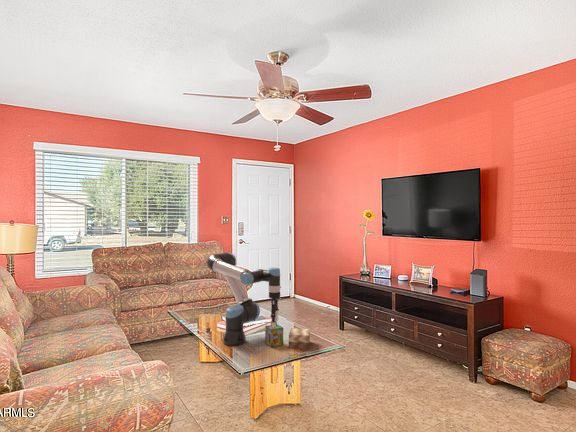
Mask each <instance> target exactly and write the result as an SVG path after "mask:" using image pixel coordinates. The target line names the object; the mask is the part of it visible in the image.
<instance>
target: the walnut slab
mask: <svg viewBox="0 0 576 432" xmlns="http://www.w3.org/2000/svg"><path fill="white" fill-rule="evenodd" d="M291 348H292V349H295V350H296V349H299V350H301V349H302V350H309V349H310V342H309V343H304V342H289V341H288V349H291Z"/></svg>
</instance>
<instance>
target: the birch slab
mask: <svg viewBox="0 0 576 432" xmlns="http://www.w3.org/2000/svg"><path fill="white" fill-rule="evenodd" d="M310 338H311V329H310V328H295V327H294V328H292V327H290V330H289V333H288V343H289V342H304V343H309V344H310Z"/></svg>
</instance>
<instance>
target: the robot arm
mask: <svg viewBox="0 0 576 432" xmlns="http://www.w3.org/2000/svg"><path fill="white" fill-rule="evenodd" d="M206 266H207V268H208V270H210V271H212V272H215V273H221V275H224V277H225V279H226V281H227V283H228V285H229V287H230V290H231V292H232V293H233V294H232V295H233V296H234V298H235V300H236V303H237V304H235V305H233V304H232V305H230V306H228V307H227V308H226V310H225V332H224V335H223V338H222V343H223V344H224V345H226V346H233V347H236V346H241V345H243V344H245V343H246V341H247V339H246V334H245V331H244V324H246V323H250V322H253V321H255V320H257V319H258V318H259V316H260V313H261V308H260V305H259V304H258V303H257V302H255V301H253V299H252V298H249V296H248V293H247V292H246V289H245V287H244V285H245V286H246V285H249V286H250V285H252V284H256V283H261V282H267V283H268V298H269V299H271V301H270V302H271V310H270V311H271V313H270V318H271V321H270V325H271V327H276V321H277V322H278V320H279V318H278V317H279V315H278V314H279V312H278V311H279V306H278V305H279V303H278V302H279V300H278V299H280V297H281V288H282V286H281V269H280V268H279V267H269V268H268V269H263V268H262V269H261V268H260V269H259V268H257V269H256V270H254V271H249V270H246V269H244V268H241V267H239V266H237V257H236V256H235V255H234V254H233V253H232V252H222V253H214V254H211V255H210V256H209V257H208V258H207V260H206Z"/></svg>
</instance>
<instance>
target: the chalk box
mask: <svg viewBox="0 0 576 432" xmlns="http://www.w3.org/2000/svg"><path fill="white" fill-rule="evenodd" d="M264 327H265V330H264V331H265V333H264V334H265V336H264V337H265V338H264V339H265V340H264V342H265V344H266V345H268V346H269V347H270V348H274V347H275V348H276V347H279V346H284V327H282V326H281V325H279V324H278V321H276V327H271V324H269V325H265V326H264Z"/></svg>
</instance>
